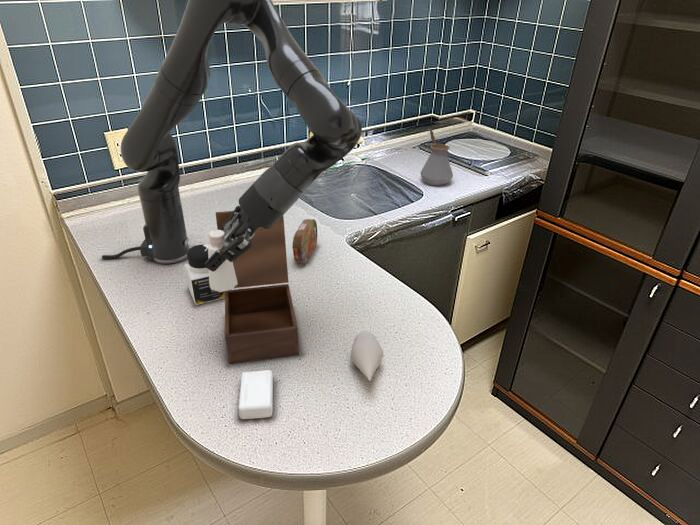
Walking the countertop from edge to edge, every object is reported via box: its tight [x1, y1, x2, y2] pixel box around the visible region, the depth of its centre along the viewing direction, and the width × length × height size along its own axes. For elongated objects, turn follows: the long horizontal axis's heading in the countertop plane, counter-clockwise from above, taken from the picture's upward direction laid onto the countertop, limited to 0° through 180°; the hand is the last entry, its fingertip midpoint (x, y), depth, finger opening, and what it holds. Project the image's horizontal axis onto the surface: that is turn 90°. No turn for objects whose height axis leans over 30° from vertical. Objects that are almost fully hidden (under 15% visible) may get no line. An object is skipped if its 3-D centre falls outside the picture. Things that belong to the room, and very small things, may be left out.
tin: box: [291, 218, 318, 264], centre depth 128 cm, size 15×3×8 cm, turn 168°
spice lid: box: [215, 210, 289, 289], centre depth 102 cm, size 16×13×1 cm
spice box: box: [224, 283, 300, 365], centre depth 100 cm, size 15×13×7 cm
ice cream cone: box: [350, 330, 384, 382], centre depth 92 cm, size 6×6×15 cm
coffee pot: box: [419, 128, 454, 187], centre depth 177 cm, size 21×12×15 cm, turn 4°
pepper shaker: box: [207, 229, 238, 292], centre depth 90 cm, size 5×5×11 cm
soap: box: [238, 369, 274, 420], centre depth 86 cm, size 9×6×3 cm, turn 7°
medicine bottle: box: [184, 243, 225, 306], centre depth 111 cm, size 7×7×12 cm
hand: (209, 261), depth 90 cm, fingers closed on pepper shaker, 4 cm apart
